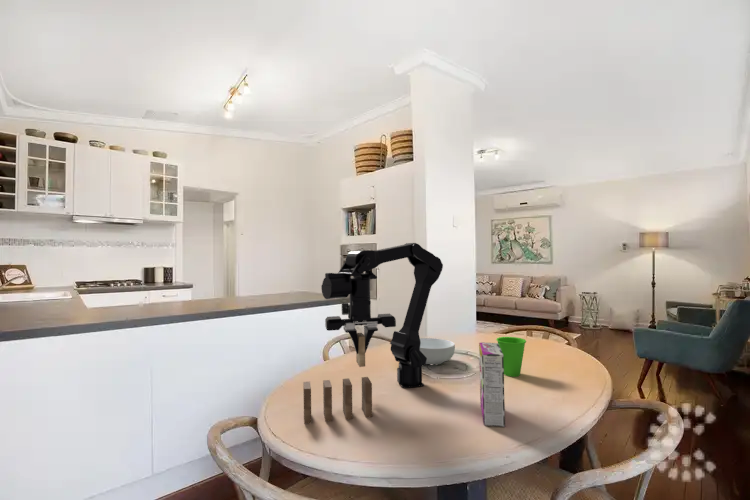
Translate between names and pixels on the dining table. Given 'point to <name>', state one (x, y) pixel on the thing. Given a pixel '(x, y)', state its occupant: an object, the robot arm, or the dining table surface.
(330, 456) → the dining table surface
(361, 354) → the domino
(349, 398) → the domino
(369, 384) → the domino
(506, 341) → the cup
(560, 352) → the dining table surface
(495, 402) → the candy bar box
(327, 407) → the domino
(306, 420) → the domino
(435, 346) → the cereal bowl
